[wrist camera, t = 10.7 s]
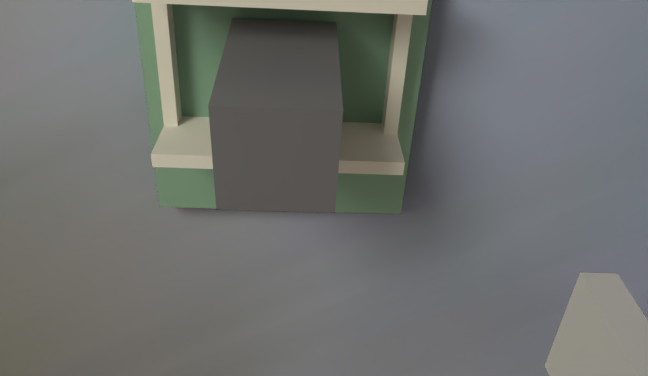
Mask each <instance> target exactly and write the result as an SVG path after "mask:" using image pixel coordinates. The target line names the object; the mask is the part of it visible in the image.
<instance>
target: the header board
mask: <svg viewBox="0 0 648 376" xmlns="http://www.w3.org/2000/svg"><path fill="white" fill-rule="evenodd" d="M132 2H135V10H136V19H137V27H138V35H139V43H140V52H141V60H142V68H143V77H144V85H145V93H146V101H147V110H148V118H149V126H150V134H151V143H152V153H151V159H152V167H154V168H155V176H156V184H157V192H158V201H159V207H183V208H216V199H215V187H214V174H213V161H212V148H211V136H210V123H209V110H208V105H209V101H210V97H211V94H212V90H213V86H214V83H215V79H216V75H217V72H218V68H219V64H220V61H221V57H222V53H223V50H224V46H225V42H226V39H227V35H228V31H229V28H230V24H231V20H232V18H251V19H274V20H297V21H320V22H336V24H337V37H338V50H339V63H340V76H341V88H342V101H343V120H342V132H341V145H340V157H339V169H338V181H337V193H336V206H335V212H351V213H384V214H401V211H402V204H403V197H404V191H405V184H406V177H407V170H408V163H409V157H410V150H411V143H412V136H413V129H414V122H415V116H416V109H417V102H418V95H419V88H420V82H421V75H422V68H423V61H424V54H425V47H426V41H427V34H428V27H429V20H430V13H431V7H432V0H132Z"/></svg>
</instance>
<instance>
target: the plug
mask: <svg viewBox="0 0 648 376" xmlns="http://www.w3.org/2000/svg"><path fill="white" fill-rule="evenodd" d="M208 110H209V123H210V136H211V148H212V161H213V174H214V187H215V199H216V210H248V211H282V212H316V213H335V206H336V193H337V181H338V169H339V157H340V145H341V132H342V120H343V101H342V88H341V76H340V63H339V50H338V37H337V24H336V22H320V21H297V20H274V19H251V18H232V20H231V24H230V28H229V31H228V35H227V39H226V42H225V46H224V50H223V53H222V57H221V61H220V64H219V68H218V72H217V75H216V79H215V83H214V86H213V90H212V94H211V97H210V101H209V105H208Z"/></svg>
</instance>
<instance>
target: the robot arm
mask: <svg viewBox="0 0 648 376" xmlns="http://www.w3.org/2000/svg"><path fill="white" fill-rule="evenodd" d="M545 367H546V370H547V372H548V374H549V376H648V320H647V319H646V317H645V316H644V314H643V313H642V311H641V309H640V308H639V306H638V305H637V303H636V302H635V300H634V299H633V297H632V295H631V294H630V292H629V291H628V289H627V288H626V286H625V285H624V283H623V281H622V280H621V278H620V277H619V275H618V274H611V273H580V274H579V277H578V279H577V282H576V285H575V287H574V290H573V292H572V295H571V298H570V300H569V303H568V305H567V308H566V311H565V313H564V316H563V319H562V321H561V324H560V326H559V329H558V332H557V334H556V337H555V340H554V342H553V345H552V347H551V350H550V353H549V355H548V358H547V361H546V363H545Z"/></svg>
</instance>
